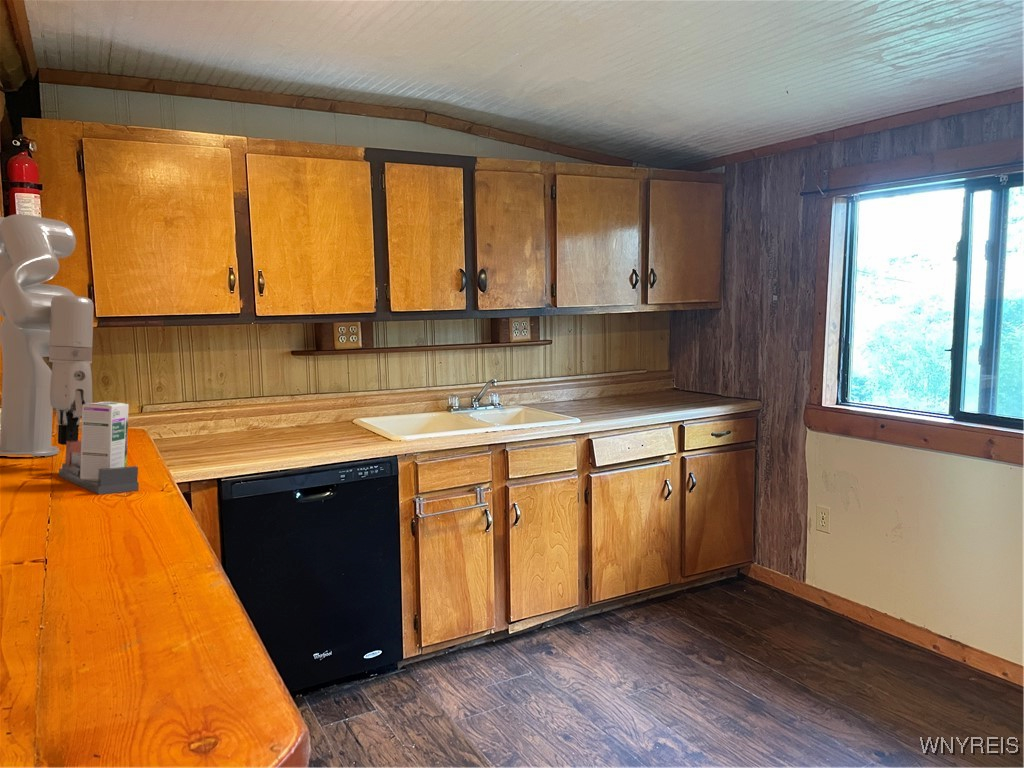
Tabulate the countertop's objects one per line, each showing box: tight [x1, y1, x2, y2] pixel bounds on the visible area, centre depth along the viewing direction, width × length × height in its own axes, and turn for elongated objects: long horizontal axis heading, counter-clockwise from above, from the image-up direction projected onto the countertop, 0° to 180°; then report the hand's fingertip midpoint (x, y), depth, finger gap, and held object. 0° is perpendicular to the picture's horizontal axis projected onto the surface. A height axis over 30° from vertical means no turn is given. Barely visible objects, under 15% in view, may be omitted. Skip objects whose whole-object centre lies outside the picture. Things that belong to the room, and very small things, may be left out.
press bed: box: [58, 462, 140, 495], centre depth 136 cm, size 19×7×4 cm, turn 51°
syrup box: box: [80, 401, 130, 481], centre depth 134 cm, size 6×6×14 cm
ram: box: [64, 439, 81, 469], centre depth 140 cm, size 9×3×5 cm, turn 51°
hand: (67, 443), depth 146 cm, fingers closed
